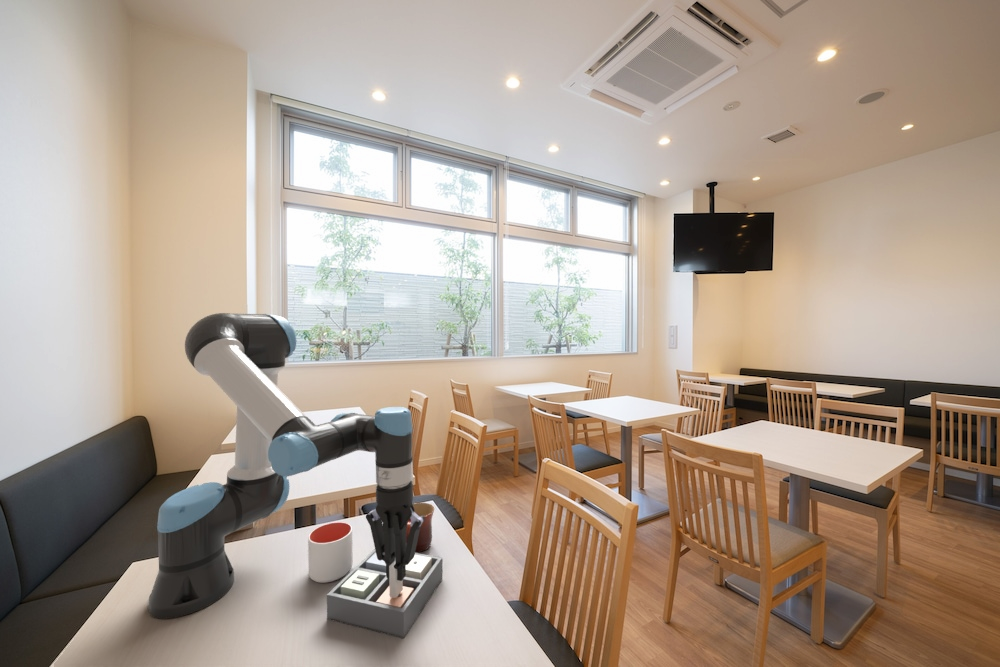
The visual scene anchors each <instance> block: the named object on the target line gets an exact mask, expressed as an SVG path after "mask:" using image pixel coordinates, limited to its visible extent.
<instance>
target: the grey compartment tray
mask: <svg viewBox="0 0 1000 667" xmlns="http://www.w3.org/2000/svg"><path fill="white" fill-rule="evenodd" d="M375 552H376V550H375V548H374V549H373V550H372V551H370V552H369V553H368V555H366V557H365V558H363V559H362V560H361V561H360V562H359V563H358V564H357V565H356V566H355V567H354V568H353V569H352V570H350V572H348V573H347V574H346V575H345V577H343V578H342V580H340V582H339V583H337V584H336V585H335V586H334V587H333V588H332V589H331V590H330V591H329V592H328V593H327V594H326V620H330V621H333V622H335V623H336V622H337V623H340V624H344V625H348V626H349V625H350V626H353V627H356V628H361V629H365V630H370V631H372V632H377V633H381V634H385V635H389V636H393V637H396V638H400V639H405V637H406V636H407V635H408V633H409V632H410V630H411V628H412V626H413V625H414V623H415V622H416V620H417V619H418V618H419V616H420V614H421V613H422V611H423V610H424V608H425V606H426V605H427V603H428V602H429V600H430V599H431V597H432V595H433V594H434V592H436V589H437V588H438V586H439V585H440V583H441V582H442V580H443V557H441V556H435V555H432V554H431V555H430V554H424V553H420V552H415V555H419V556H425V557H430V558H432V568H431V569H430V571H429V572H428V573H427V575H426V576H425V578H424V579H423V580H419V579H414V578H409V577H404V578H403V586H405V587H409V588H414V593H413V594H412V596H411V597H410V598H409V600H408V601H407V602H406V604H405V605H404V607H403V608H398V607H394V606H389V605H385V604H380V603H376V601H377V600H378V599H379V598H380V596H381V595H382V594H383V593H384V592H385V590H386V589H387V588H388V587H389V579H388V578H387V577H386V573H384V572H379V571H374V570H369V569H366V561H367V560H368V559H369V558H370V557H371V556H372V555H373V554H374V553H375ZM357 570H360V571H365V572H370V573H375V574H379V584H378V586H377V587H376V588H375V589H374V590H373V591H372V592H371V593H370V595H369V596H368V597H367V598H366V599H365V600H363V599H358V598H354V597H349V596H345V595H341V586H342V585H343V584H344V583H345V582H346V581H347V580H348V579H349V578H350V577H351V576H352V575H353V574H354V573H355V572H356V571H357Z"/></svg>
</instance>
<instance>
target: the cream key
mask: <svg viewBox="0 0 1000 667" xmlns="http://www.w3.org/2000/svg"><path fill="white" fill-rule="evenodd" d="M431 568H432V558H430V557H425V556H419V555H414V558H413V559H412V560H411V561H410V563H409V564H408V565H406V575H405V577H409V578H414V579H419V580H423V579H424V578H425V576H426V575H427V573H428V572H429V571H430V569H431Z"/></svg>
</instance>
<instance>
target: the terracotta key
mask: <svg viewBox="0 0 1000 667" xmlns="http://www.w3.org/2000/svg"><path fill="white" fill-rule="evenodd" d="M413 593H414V588H409V587H405V586H403V590H402V591H401V592H400V594H399V595H398V596H397V598H391V597H390V588H389V587H388V588H387V589H386V590H385V592H384V593H383V594H382V595H381V596H380V598H379V599H378V600H377V601H376V603H380V604H385V605H389V606H394V607H398V608H403V607H404V605H405V604H406V602H407V601H408V600H409V598H410V597H411V596H412V594H413Z"/></svg>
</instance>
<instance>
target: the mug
mask: <svg viewBox="0 0 1000 667" xmlns="http://www.w3.org/2000/svg"><path fill="white" fill-rule="evenodd" d="M412 504H413V507H414V509H415V511H414V512H415V513H416V514H417V515H418V516H419V517H420V516H424V517H425V520H424V522H423V523H422V525H421V527H420V532H419V536H418V541H417V546H416V550H415V553H421V552H424V551H426V550H428V548H430V547H431V545H432V539H433V526H432V519H433V516H434V511H435V506H433V505H432V503H431V504H430V503H428V502H414V503H412ZM410 524H411V518H410V520H409V521H408V522H407V528H406V545H407V541H408V537H409V532H410V529H411V526H410Z"/></svg>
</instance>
